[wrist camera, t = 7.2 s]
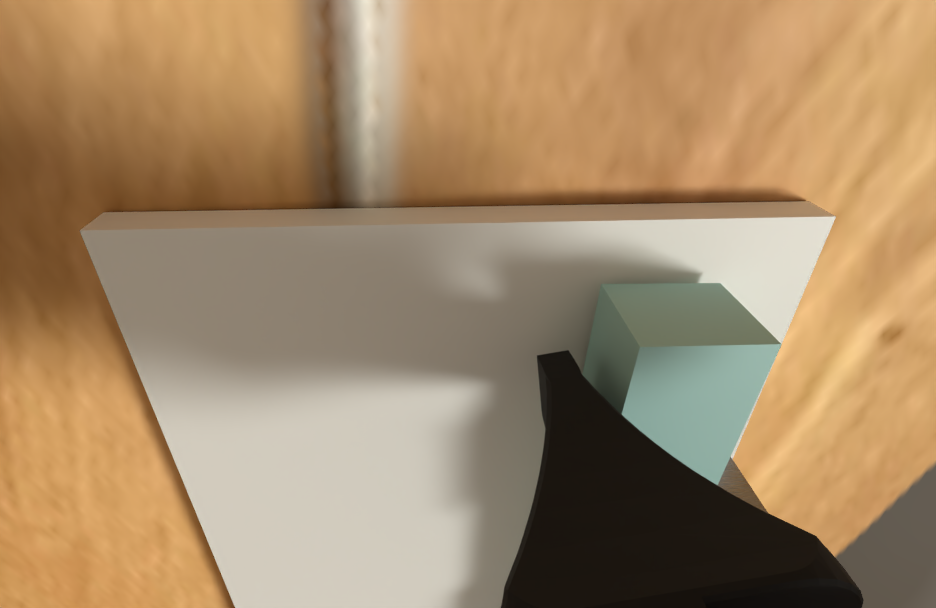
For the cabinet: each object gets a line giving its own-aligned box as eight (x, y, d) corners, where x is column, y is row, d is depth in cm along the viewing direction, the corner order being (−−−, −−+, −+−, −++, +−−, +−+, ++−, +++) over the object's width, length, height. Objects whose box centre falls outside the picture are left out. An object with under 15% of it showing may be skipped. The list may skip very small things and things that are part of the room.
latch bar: (608, 634, 22) (641, 744, 19) (514, 641, 21) (532, 755, 18) (739, 282, 13) (845, 382, 10) (580, 284, 12) (638, 388, 9)
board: (647, 614, 24) (656, 637, 23) (267, 647, 22) (262, 673, 22) (808, 201, 13) (836, 216, 12) (103, 212, 12) (79, 230, 11)
